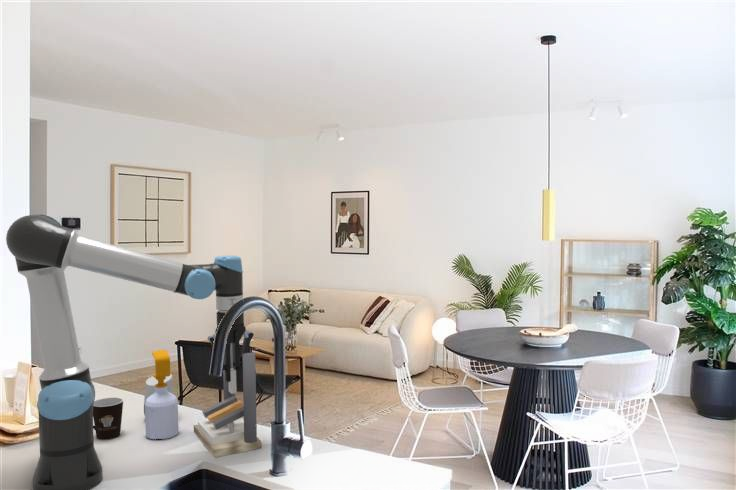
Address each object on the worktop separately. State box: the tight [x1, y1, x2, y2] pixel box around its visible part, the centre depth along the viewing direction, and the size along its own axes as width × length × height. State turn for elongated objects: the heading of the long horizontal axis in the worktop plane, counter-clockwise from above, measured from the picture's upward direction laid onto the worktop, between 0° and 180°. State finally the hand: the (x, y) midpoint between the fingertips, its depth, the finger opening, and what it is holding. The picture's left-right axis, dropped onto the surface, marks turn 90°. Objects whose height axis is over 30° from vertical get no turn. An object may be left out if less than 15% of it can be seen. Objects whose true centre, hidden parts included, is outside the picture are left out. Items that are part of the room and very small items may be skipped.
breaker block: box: [197, 417, 244, 445], centre depth 174 cm, size 12×15×5 cm
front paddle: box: [212, 407, 244, 430], centre depth 169 cm, size 10×2×2 cm, turn 119°
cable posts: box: [222, 343, 258, 443], centre depth 176 cm, size 3×22×24 cm, turn 29°
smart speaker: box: [143, 373, 175, 416], centre depth 192 cm, size 10×9×14 cm
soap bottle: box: [144, 349, 180, 441], centre depth 178 cm, size 9×9×25 cm
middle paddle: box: [206, 400, 244, 424], centre depth 174 cm, size 10×2×2 cm, turn 119°
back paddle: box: [202, 395, 238, 419], centre depth 179 cm, size 10×2×2 cm, turn 119°
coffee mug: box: [93, 397, 124, 441], centre depth 178 cm, size 12×9×10 cm
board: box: [193, 424, 262, 458], centre depth 175 cm, size 13×22×2 cm, turn 29°
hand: (232, 392), depth 175 cm, fingers closed
